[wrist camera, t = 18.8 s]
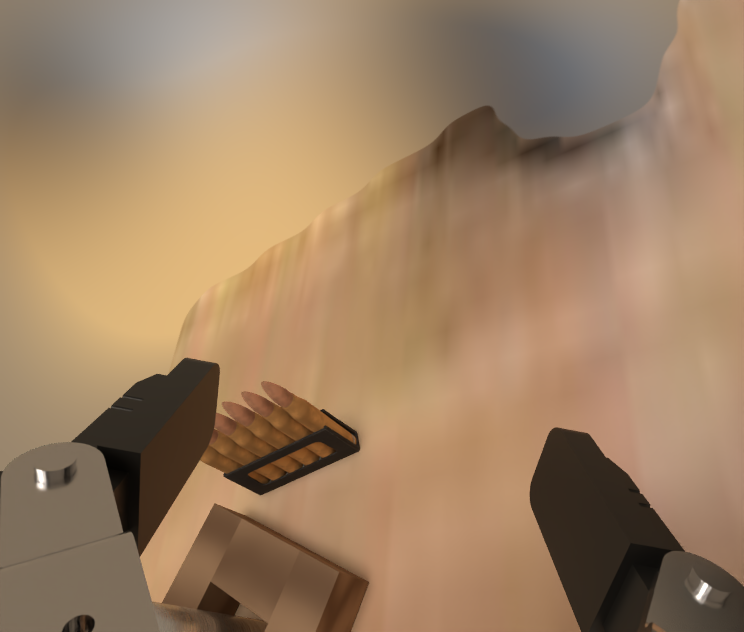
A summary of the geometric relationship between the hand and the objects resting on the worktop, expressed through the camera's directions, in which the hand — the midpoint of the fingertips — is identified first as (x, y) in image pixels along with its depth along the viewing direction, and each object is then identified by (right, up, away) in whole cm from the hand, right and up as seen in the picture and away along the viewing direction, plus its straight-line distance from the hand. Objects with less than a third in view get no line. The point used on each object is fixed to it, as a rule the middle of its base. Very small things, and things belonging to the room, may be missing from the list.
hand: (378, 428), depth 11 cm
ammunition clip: (-6, -11, +31) cm, 33 cm away
